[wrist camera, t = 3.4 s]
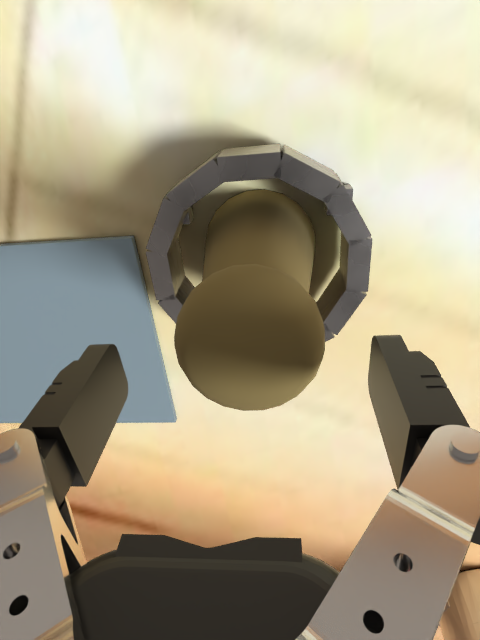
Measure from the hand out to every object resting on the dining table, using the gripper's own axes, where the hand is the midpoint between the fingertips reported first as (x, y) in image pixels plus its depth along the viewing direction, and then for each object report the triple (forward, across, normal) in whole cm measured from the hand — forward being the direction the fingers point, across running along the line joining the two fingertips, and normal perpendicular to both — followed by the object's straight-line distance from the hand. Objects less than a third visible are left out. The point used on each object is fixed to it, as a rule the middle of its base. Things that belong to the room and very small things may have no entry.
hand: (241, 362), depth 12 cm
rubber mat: (+11, +14, +6) cm, 19 cm away
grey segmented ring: (+11, 0, 0) cm, 11 cm away
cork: (+11, 0, 0) cm, 11 cm away
